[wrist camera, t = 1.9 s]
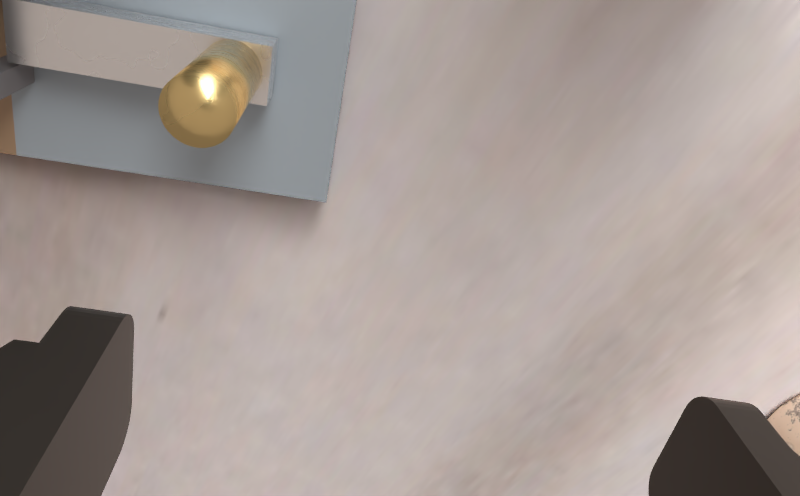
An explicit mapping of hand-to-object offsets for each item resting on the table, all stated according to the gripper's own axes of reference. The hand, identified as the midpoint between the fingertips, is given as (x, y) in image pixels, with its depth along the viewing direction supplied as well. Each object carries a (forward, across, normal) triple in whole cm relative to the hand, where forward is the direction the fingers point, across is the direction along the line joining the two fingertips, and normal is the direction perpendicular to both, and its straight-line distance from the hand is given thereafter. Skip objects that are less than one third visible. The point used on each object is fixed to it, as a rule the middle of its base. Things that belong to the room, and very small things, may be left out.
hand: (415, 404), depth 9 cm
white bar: (+21, +9, +1) cm, 23 cm away
